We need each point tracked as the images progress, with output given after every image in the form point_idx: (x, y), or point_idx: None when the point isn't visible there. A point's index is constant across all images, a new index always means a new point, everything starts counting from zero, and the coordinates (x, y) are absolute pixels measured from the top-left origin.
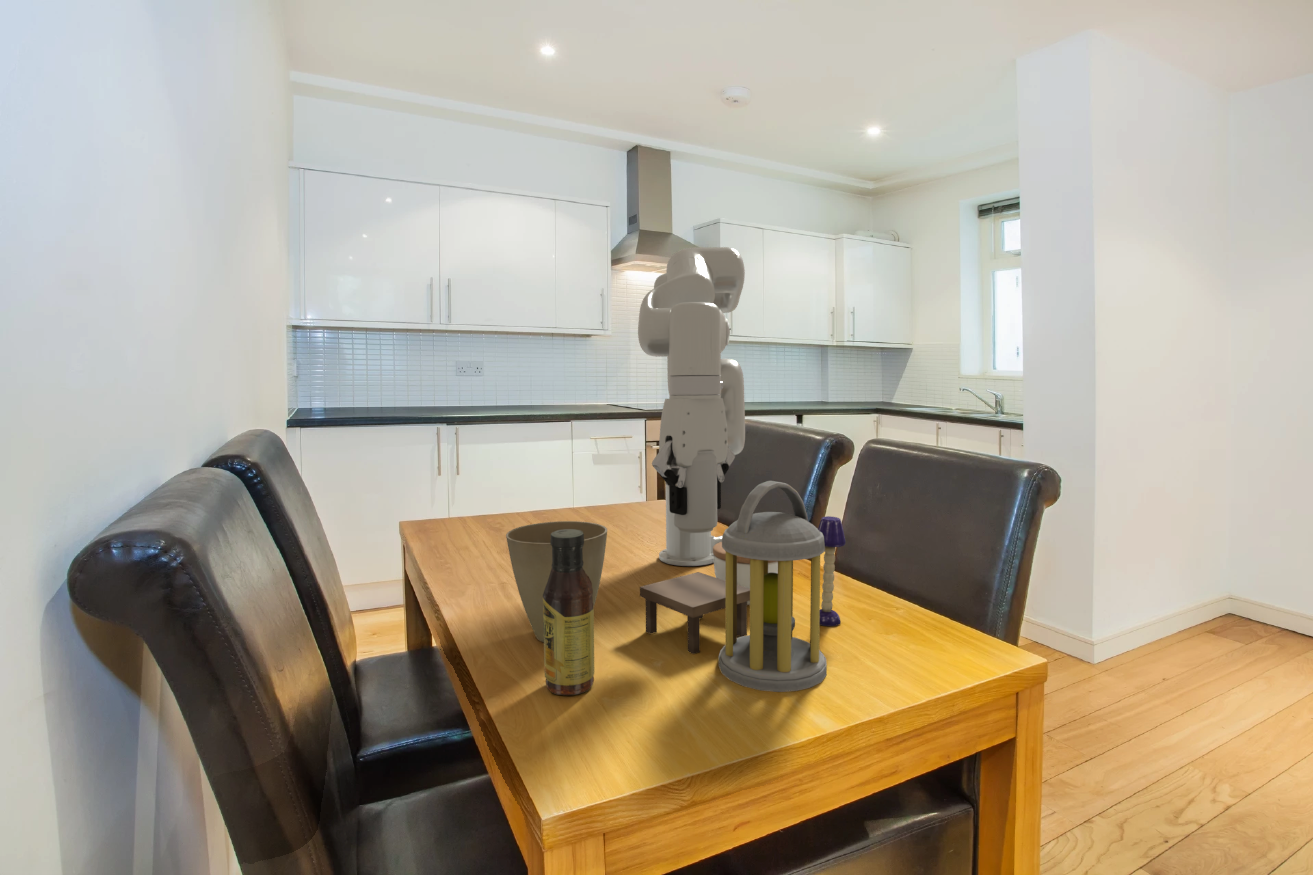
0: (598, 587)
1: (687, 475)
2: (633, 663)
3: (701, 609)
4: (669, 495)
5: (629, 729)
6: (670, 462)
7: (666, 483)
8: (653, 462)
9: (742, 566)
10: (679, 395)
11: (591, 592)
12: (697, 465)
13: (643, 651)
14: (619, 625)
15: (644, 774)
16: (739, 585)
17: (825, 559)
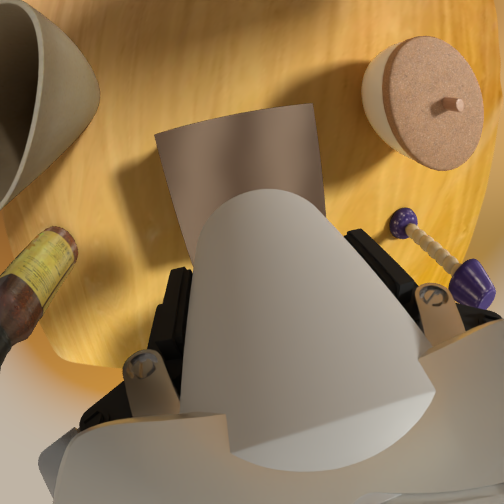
0: (80, 125)
1: None
2: (126, 223)
3: None
4: (151, 333)
5: (100, 324)
6: (165, 428)
7: (129, 367)
8: (45, 468)
9: (393, 137)
10: None
11: (33, 328)
12: None
13: (147, 195)
14: (153, 92)
15: (104, 360)
16: (324, 215)
17: (445, 265)
